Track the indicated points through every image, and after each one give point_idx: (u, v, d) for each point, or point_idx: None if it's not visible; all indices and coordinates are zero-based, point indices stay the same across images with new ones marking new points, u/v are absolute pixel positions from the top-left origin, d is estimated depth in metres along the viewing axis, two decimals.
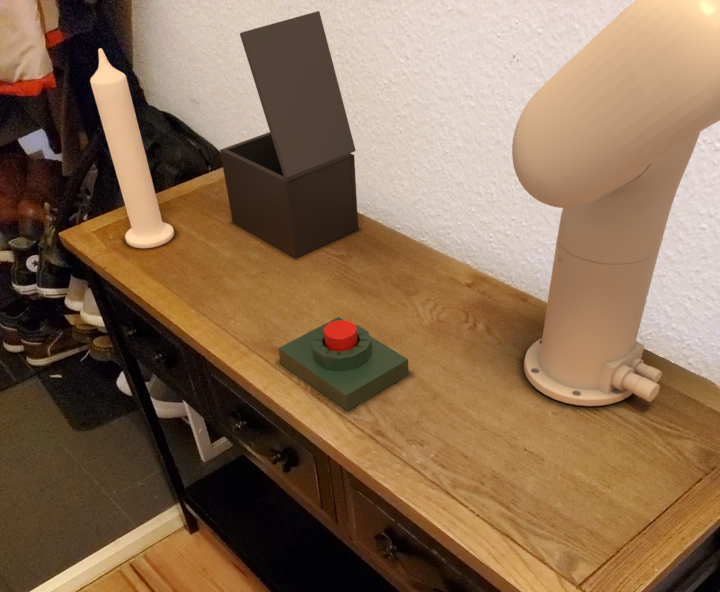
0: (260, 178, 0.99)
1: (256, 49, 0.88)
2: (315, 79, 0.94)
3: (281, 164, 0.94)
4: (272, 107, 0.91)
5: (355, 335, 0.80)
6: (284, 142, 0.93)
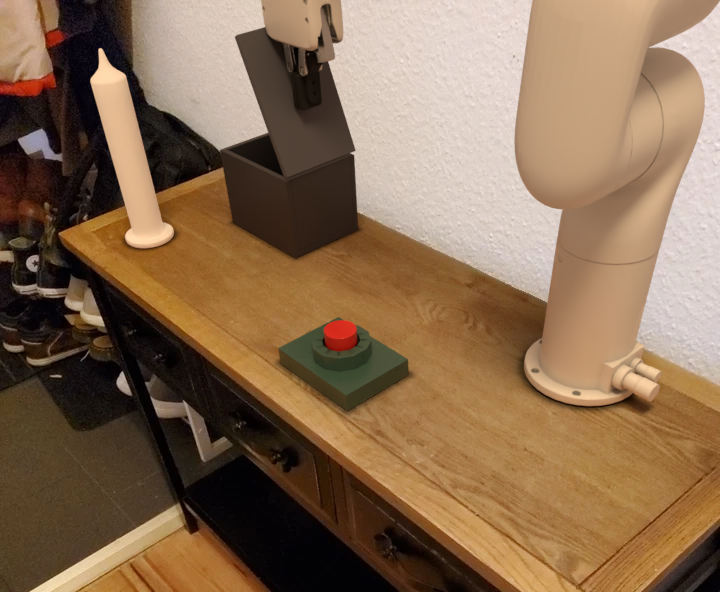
0: (260, 178, 0.99)
1: (251, 51, 0.89)
2: None
3: (281, 164, 0.94)
4: (269, 107, 0.91)
5: (355, 335, 0.80)
6: (283, 142, 0.93)
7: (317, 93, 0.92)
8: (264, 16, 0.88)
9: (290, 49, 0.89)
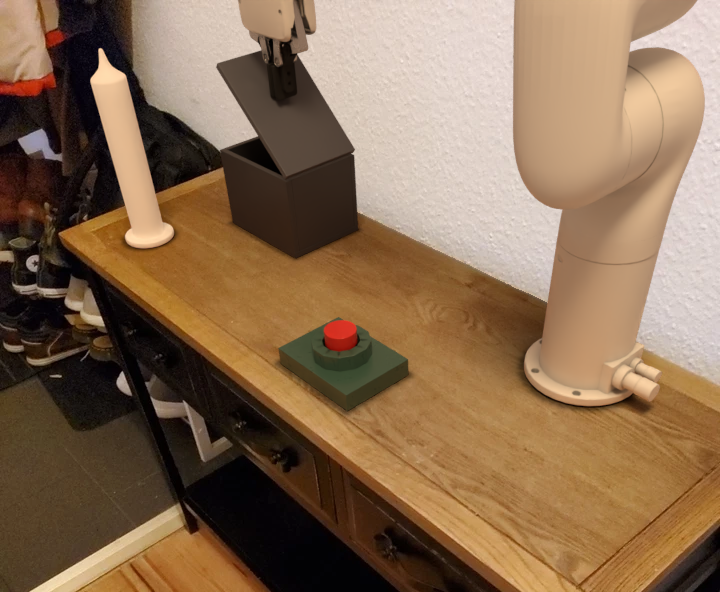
0: (260, 178, 0.99)
1: (233, 75, 0.94)
2: (297, 94, 0.98)
3: (278, 166, 0.95)
4: (258, 118, 0.94)
5: (355, 335, 0.80)
6: (277, 146, 0.95)
7: (292, 83, 0.94)
8: (240, 8, 0.91)
9: (265, 40, 0.91)
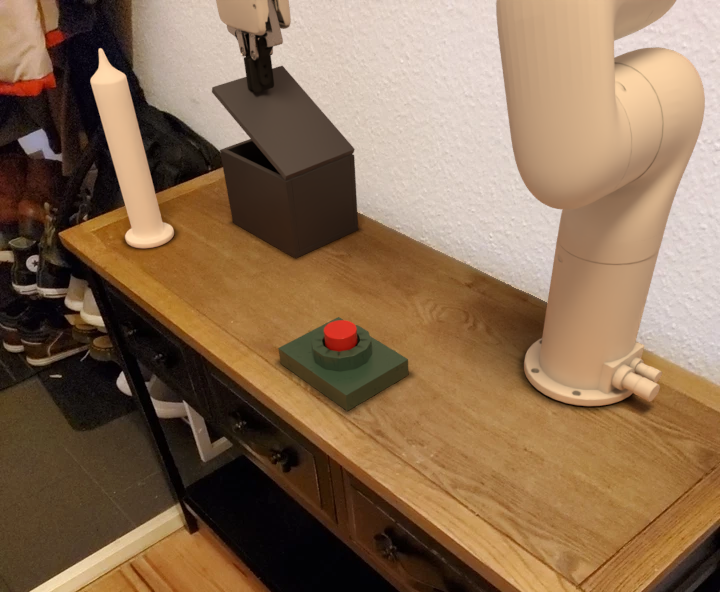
0: (260, 178, 0.99)
1: (228, 95, 0.97)
2: (293, 106, 1.00)
3: (278, 169, 0.95)
4: (254, 129, 0.96)
5: (355, 335, 0.80)
6: (275, 151, 0.96)
7: (269, 76, 0.97)
8: (217, 3, 0.94)
9: (242, 34, 0.94)
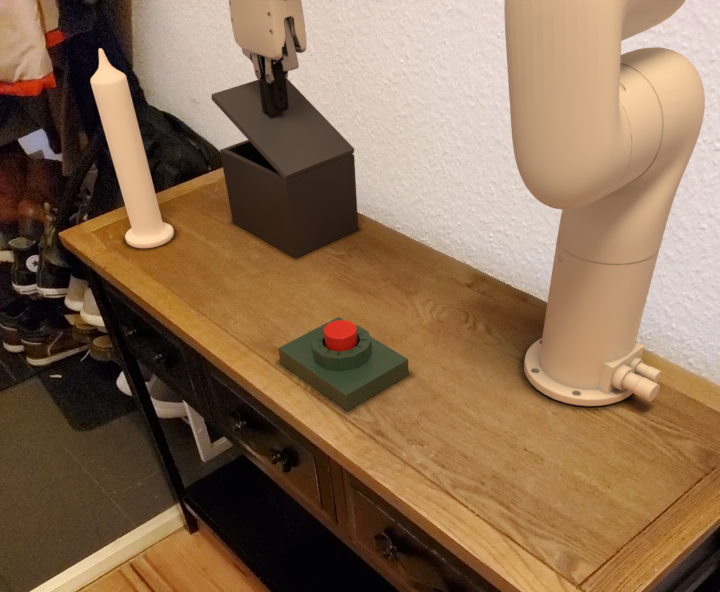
0: (260, 178, 0.99)
1: (227, 101, 0.98)
2: (292, 110, 1.00)
3: (278, 169, 0.95)
4: (254, 132, 0.97)
5: (355, 335, 0.80)
6: (274, 152, 0.96)
7: (284, 99, 0.97)
8: (233, 27, 0.94)
9: (257, 58, 0.94)
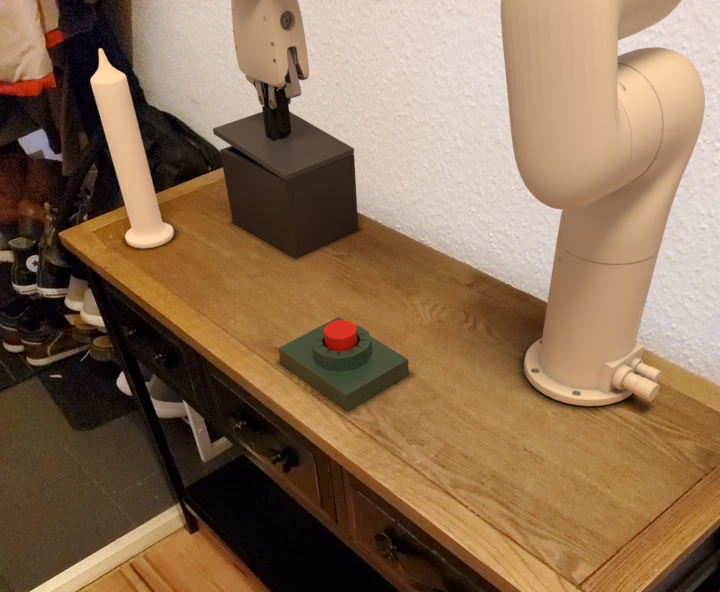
0: (260, 178, 0.99)
1: (228, 131, 1.02)
2: (291, 129, 1.03)
3: (277, 173, 0.96)
4: (253, 149, 0.99)
5: (355, 335, 0.80)
6: (273, 160, 0.97)
7: (286, 124, 0.99)
8: (237, 54, 0.96)
9: (261, 84, 0.97)
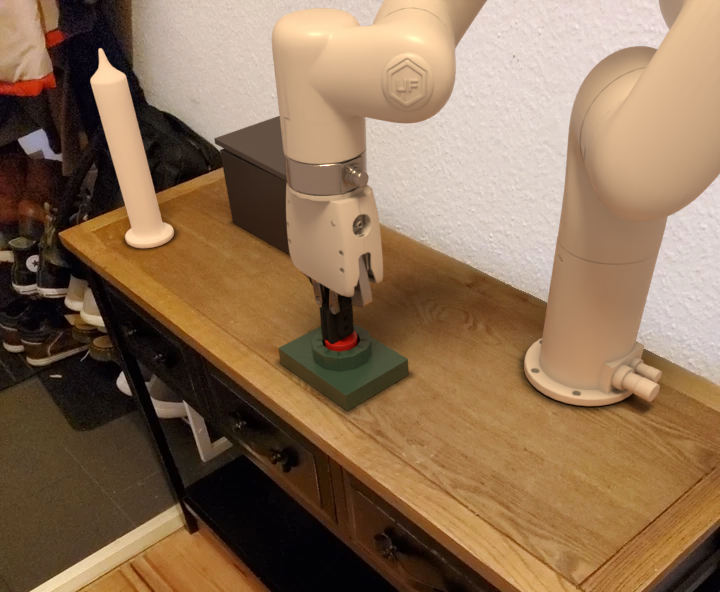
0: (260, 178, 0.99)
1: (229, 140, 1.03)
2: None
3: (277, 174, 0.96)
4: (254, 154, 0.99)
5: (355, 342, 0.81)
6: (273, 163, 0.97)
7: (349, 326, 0.79)
8: (290, 248, 0.76)
9: (319, 284, 0.76)
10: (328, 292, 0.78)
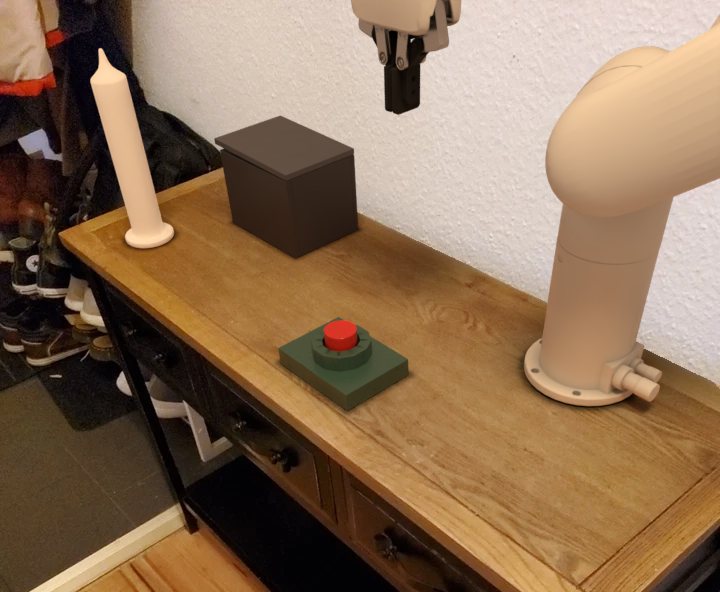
0: (260, 178, 0.99)
1: (229, 140, 1.03)
2: (291, 135, 1.03)
3: (277, 174, 0.96)
4: (254, 154, 0.99)
5: (355, 335, 0.80)
6: (273, 163, 0.97)
7: (417, 92, 0.70)
8: None
9: (385, 34, 0.67)
10: (394, 48, 0.68)
